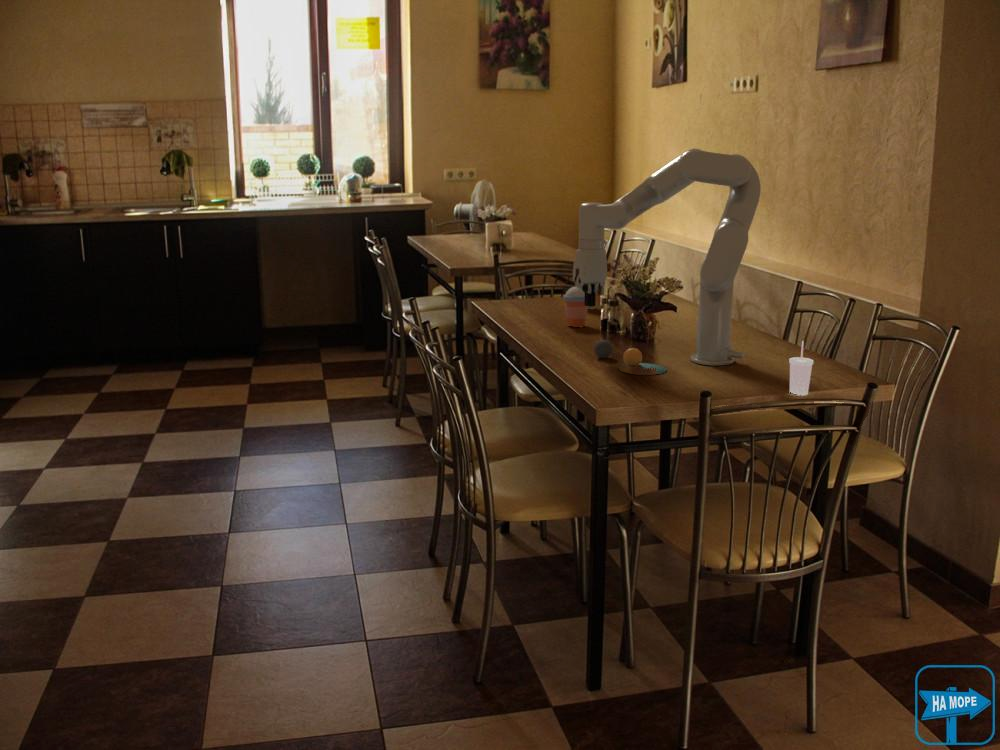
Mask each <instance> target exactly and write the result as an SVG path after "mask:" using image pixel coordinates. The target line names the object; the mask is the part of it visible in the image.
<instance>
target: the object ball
mask: <svg viewBox="0 0 1000 750" xmlns="http://www.w3.org/2000/svg"><path fill="white" fill-rule="evenodd" d="M622 359H623V362H624V364H626V365H628V366H630V367H635V366H638V365H639V364H640V363H642V361H643V354H642V352H641V351H640V350H639V349H638V348H635V347H629V348H627V349H626V350H625V351H624V352H623V355H622Z"/></svg>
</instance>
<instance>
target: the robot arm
mask: <svg viewBox="0 0 1000 750" xmlns="http://www.w3.org/2000/svg"><path fill="white" fill-rule="evenodd" d="M760 180H761V179H760V176H759V174H758V172H757V170H756V168H755V167H754V165H753V164H752V163H751V162H750V160H748V158H746V157H745V156H744V155H742V154H737V153H733V154H726V153H720V152H719V153H718V152H712V151H705V150H702V149H700V148H690V149H687V150H686V151H685V152H683V153H681V154H680V155H679V156H677V157H676V158H674V159H672V161H670V162H669V163H666V164H665V165H664V166H662V167H661V168H659V170H657V171H655V172H654V173H652V174H651V175H649V176H648V177H647V178H645V180H644V181H643V182H641V184H639V185H638V186H636V187H635V188H634V189H632V190H631V191H629V192H627V193H626V194H625V195H623V196H622V197H620V198H619V199H617V200H616V201H614V202H612V203H609V204H603V203H601V202H591V201H590V202H583V203H581V204H580V205H579V210H578V211H579V212H578V213H579V214H578V215H579V216H578V220H579V221H578V249H576V250H575V254H574V259H573V266H572V267H573V268H572V281H573V282H574V283H575V282H576V284H574V286H575V287H577V288H581V289H582V290H583V292H584V293H585V298H584V302H585V303H584V305H585V306H589V307H592V306H594V307H595V306H596V297H597V294H596V293H598V291H599V289H600V287H602V286H605V284H606V281H607V278H608V261H607V252H606V249H605V245H607V241H606V239H605V230H606V229H610V230H621V229H623V228H624V229H625V227H626V226H628V224H630V223H631V222H632V221H634V220H635V219H637V218H638V217H639V216H641V215H643V214H644V213H645V212H647V211H648V210H651V208H653V207H655V206H657V205H660V204H663V203H665V202H667V201H668V200H669V199H671V198H673V197H674V196H675V195H677V194H678V193H679V192H681V191H683V190H684V189H686V188H687V187H689V186H690V185H692V184H694V183H695V182H697V183H704V184H709V185H718V186H725V187H729V195H728V198H727V201H726V203H725V207H724V209H723V212H722V215H721V217H720V220H719V222H718V225H717V227H716V228H715V230H714V233H713V236H712V237H713V238H712V240H711V243H710V245H709V247H708V250H707V254H706V257H705V259H704V260H703V262H702V264H701V265H700V266H701V267H700V269H699V270H700V272H699V280H700V281H699V295H698V297H699V298H698V299H699V300H698V313H697V315H698V317H697V330H696V332H697V333H696V347H695V348H696V349H695V351H696V352H695V353H693V354H691V355H690V360H691V362H694V363H695V364H700V365H705V366H727V365H731V364H733V363H734V362H735V358H736V359H739V360H740V359H741V360H743V359H744V355H745V352H742V351H741V350H734V349H733V345H731V344H730V342H731V330H732V328H731V326H732V314H733V313H732V312H733V299H734V282H735V279H736V275H737V274H738V270H739V267H740V265H741V263H742V261H743V257H744V254H745V252H746V249H747V246H748V244H749V231H750V229H751V225H752V223H753V220H754V217H755V215H756V211H757V208H758V205H759V201H760V198H761V192H762V191H761V190H762V189H761V181H760ZM605 228H606V229H605ZM586 285H587V286H586Z"/></svg>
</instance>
